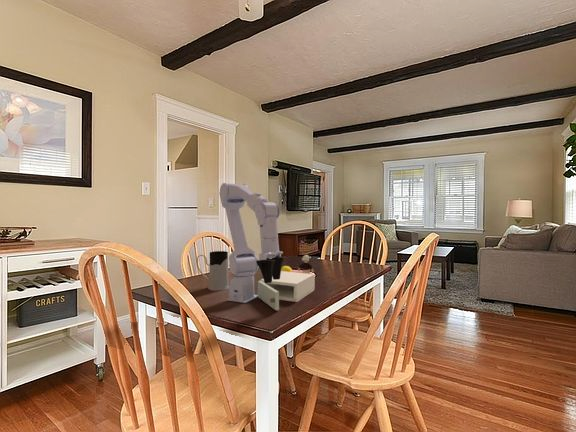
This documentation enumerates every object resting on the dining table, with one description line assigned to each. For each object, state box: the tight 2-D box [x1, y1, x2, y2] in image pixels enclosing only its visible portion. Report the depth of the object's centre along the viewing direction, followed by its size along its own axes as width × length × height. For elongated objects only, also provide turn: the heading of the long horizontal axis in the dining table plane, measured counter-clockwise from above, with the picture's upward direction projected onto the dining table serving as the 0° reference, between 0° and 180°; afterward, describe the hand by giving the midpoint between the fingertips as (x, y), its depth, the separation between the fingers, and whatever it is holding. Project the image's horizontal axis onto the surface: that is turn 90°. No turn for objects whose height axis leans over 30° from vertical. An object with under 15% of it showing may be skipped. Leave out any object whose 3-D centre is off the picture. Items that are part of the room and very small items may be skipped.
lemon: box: [281, 265, 293, 272], centre depth 155 cm, size 7×5×5 cm
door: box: [257, 280, 280, 311], centre depth 111 cm, size 2×17×6 cm, turn 25°
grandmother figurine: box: [297, 254, 315, 274], centre depth 141 cm, size 8×4×13 cm, turn 74°
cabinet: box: [259, 271, 316, 303], centre depth 125 cm, size 18×15×6 cm
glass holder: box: [196, 250, 229, 291], centre depth 134 cm, size 9×14×15 cm, turn 81°
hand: (272, 281), depth 102 cm, fingers open, 7 cm apart
